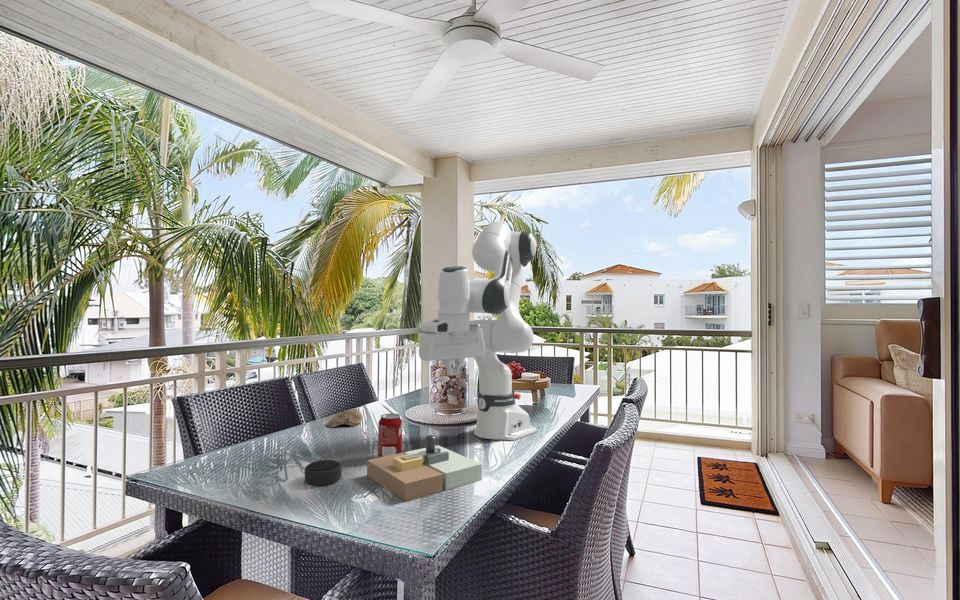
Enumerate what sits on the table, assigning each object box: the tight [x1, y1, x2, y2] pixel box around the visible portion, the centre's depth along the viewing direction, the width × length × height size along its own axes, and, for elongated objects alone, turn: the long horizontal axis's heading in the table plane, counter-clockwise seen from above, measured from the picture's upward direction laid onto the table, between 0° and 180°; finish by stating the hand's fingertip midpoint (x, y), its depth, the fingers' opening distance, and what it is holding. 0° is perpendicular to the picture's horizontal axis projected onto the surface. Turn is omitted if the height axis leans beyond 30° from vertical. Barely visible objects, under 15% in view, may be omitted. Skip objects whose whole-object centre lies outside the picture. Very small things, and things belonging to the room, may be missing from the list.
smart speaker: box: [304, 459, 343, 486], centre depth 123 cm, size 9×9×4 cm
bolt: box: [401, 434, 439, 463], centre depth 125 cm, size 10×2×6 cm, turn 129°
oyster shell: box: [326, 408, 364, 429], centre depth 177 cm, size 10×12×5 cm
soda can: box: [377, 412, 403, 458], centre depth 141 cm, size 7×7×12 cm
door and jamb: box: [366, 444, 483, 502], centre depth 125 cm, size 22×20×6 cm
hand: (453, 375), depth 134 cm, fingers closed
